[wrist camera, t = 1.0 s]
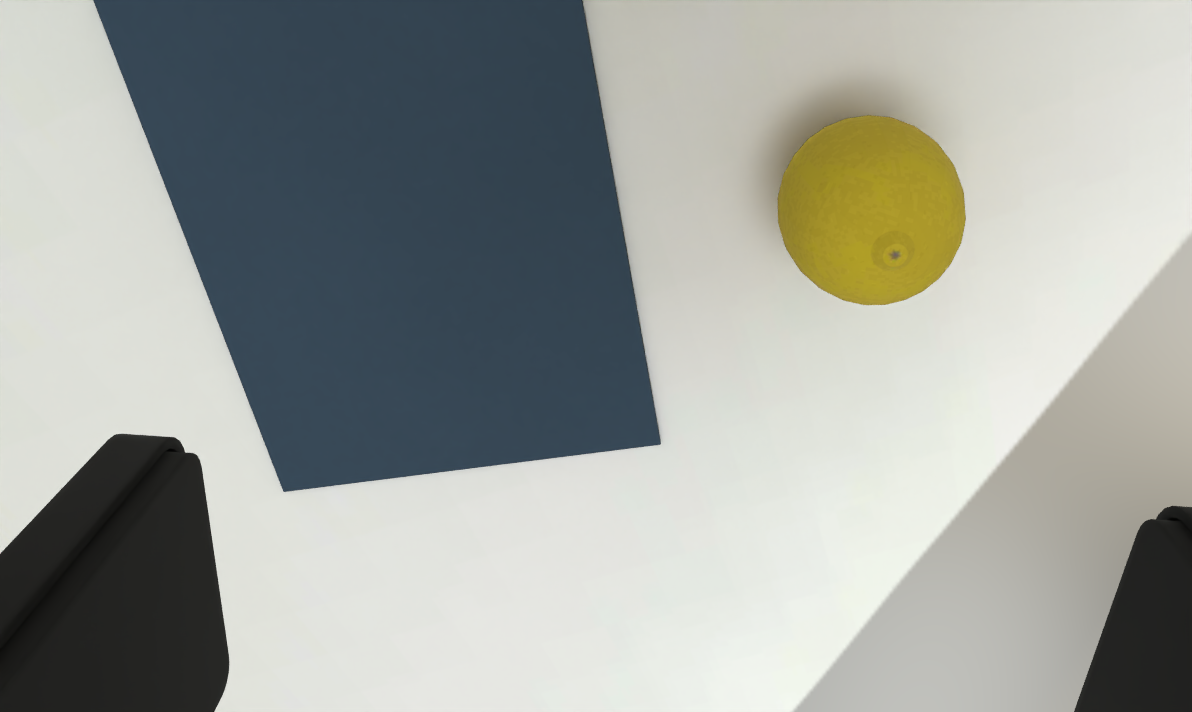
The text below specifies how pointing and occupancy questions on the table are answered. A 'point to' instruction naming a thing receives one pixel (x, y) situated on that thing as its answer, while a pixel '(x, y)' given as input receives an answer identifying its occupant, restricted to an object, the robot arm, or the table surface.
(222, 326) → the mat
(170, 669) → the robot arm
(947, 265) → the lemon
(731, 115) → the table surface
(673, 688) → the table surface
